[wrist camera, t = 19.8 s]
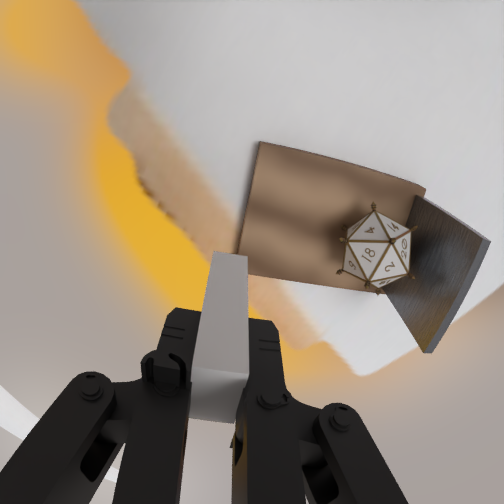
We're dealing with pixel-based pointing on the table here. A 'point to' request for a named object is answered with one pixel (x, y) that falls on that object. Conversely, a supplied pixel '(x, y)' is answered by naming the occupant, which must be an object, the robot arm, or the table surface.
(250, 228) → the shelf plank
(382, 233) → the game die
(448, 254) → the bookend
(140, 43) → the table surface
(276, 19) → the table surface
